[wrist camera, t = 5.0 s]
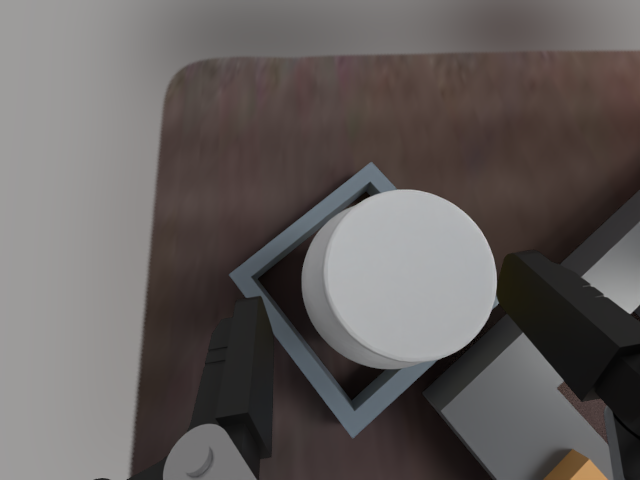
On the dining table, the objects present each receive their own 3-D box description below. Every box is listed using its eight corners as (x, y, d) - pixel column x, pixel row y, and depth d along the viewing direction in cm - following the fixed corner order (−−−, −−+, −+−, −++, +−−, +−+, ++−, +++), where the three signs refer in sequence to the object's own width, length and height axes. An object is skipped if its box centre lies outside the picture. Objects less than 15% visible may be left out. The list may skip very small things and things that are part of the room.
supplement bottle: (425, 270, 16) (569, 229, 7) (380, 360, 16) (473, 459, 6) (340, 223, 17) (360, 125, 7) (291, 307, 16) (244, 321, 7)
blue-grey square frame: (367, 173, 18) (371, 161, 16) (485, 301, 16) (501, 301, 15) (237, 276, 16) (228, 274, 15) (349, 424, 15) (352, 438, 13)
